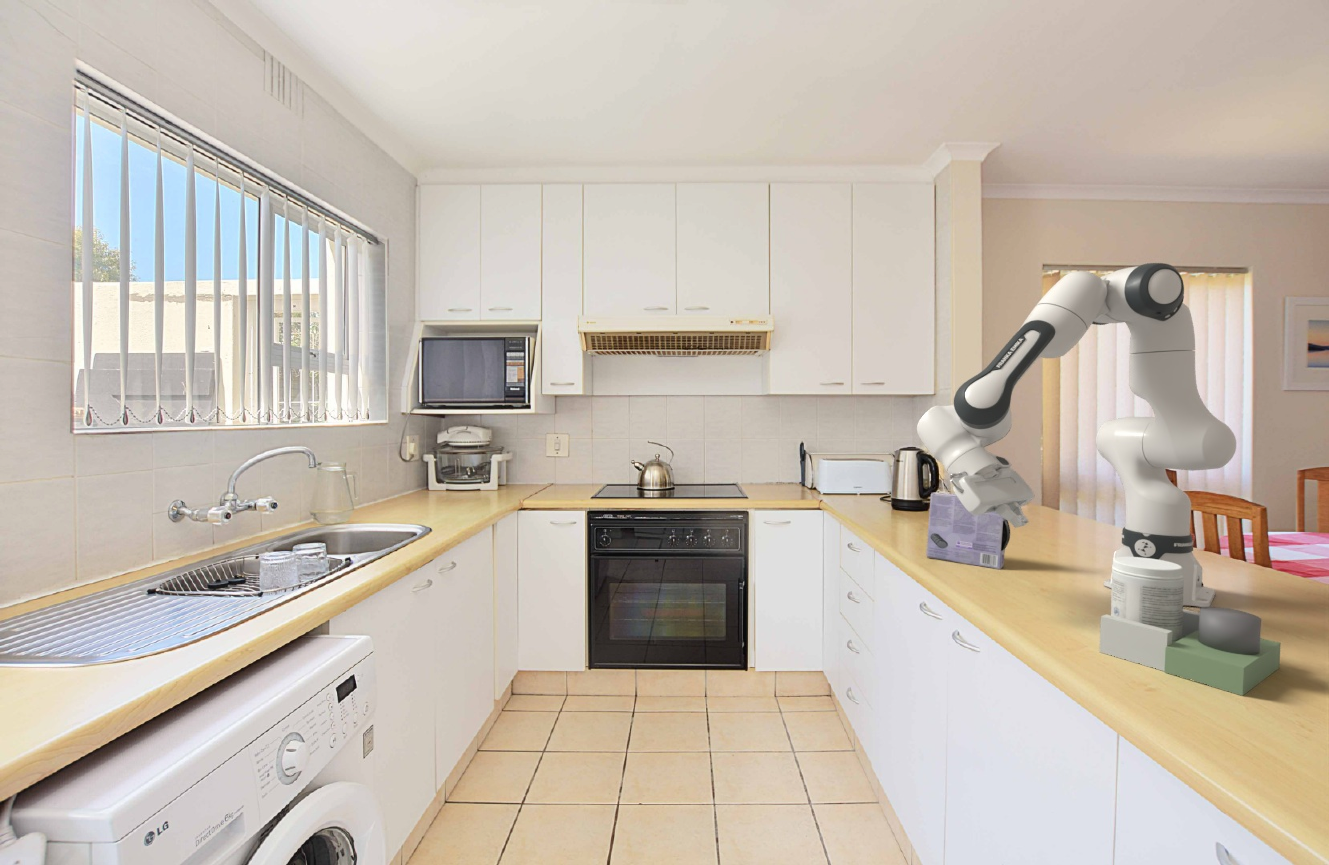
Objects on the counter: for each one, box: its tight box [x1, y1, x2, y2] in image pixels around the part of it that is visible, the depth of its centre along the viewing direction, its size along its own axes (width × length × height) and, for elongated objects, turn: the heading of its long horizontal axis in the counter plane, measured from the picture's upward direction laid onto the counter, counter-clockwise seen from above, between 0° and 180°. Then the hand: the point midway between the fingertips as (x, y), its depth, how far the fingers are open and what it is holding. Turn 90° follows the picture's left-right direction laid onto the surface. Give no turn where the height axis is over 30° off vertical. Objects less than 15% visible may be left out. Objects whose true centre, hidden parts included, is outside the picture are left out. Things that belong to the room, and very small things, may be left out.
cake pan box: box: [925, 491, 1011, 570], centre depth 162 cm, size 19×5×18 cm, turn 51°
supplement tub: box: [1110, 557, 1184, 643], centre depth 104 cm, size 10×10×15 cm
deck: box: [1098, 606, 1282, 697], centre depth 100 cm, size 18×18×9 cm
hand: (1022, 525), depth 121 cm, fingers closed
